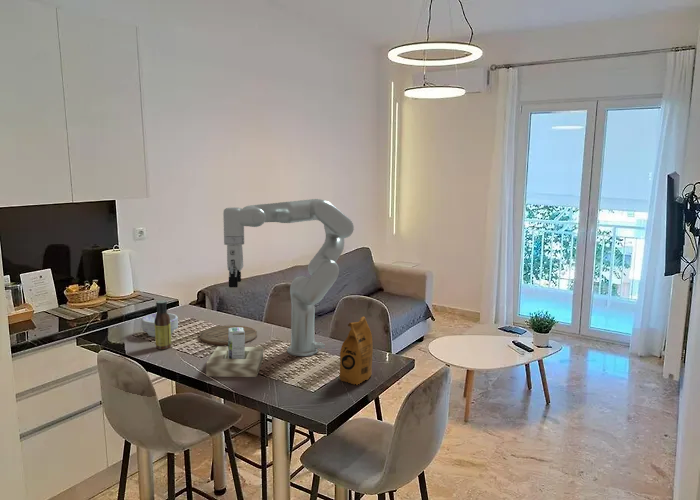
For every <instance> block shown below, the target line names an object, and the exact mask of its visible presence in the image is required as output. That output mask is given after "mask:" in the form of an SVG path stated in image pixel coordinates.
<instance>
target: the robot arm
mask: <svg viewBox="0 0 700 500" xmlns="http://www.w3.org/2000/svg"><path fill="white" fill-rule="evenodd" d="M222 215H223V218H222V219H223V245H225V246H226V261H227V262H226V263H227V266H226V267H227V271H228V288H238V286H239V284H238V283H240V282H242V273H241V271H242V270H243V268H244V256H243V255H244V253H243V245H245V227H251V228H257V227H261V226H262V225H264V224H265V223H280V224H293V223H294V224H295V223H303V222H310V221H319V222H320V223H322V224H323V229H324V232H325V233H324V234H325V239H324V242H323V244H322V245H321V247H320V248H319V250H318V251H317V252H316V254H315V255H314V256H313V258H312V259H311V261H310V262H309V263H308V266H307V272H308V274H309V275H310V277H307V276H303V275H301V276H297V277H295V278H294V279H292V282H291V283H290V286H289V294H290V295H289V296H290V301H291V302H290V303H291V315H290V316H291V317H290V318H291V323H290V328H291V329H290V334H291V335H290V339H291V341H290V345H289V346H288V347H287V353H288V354H289V355H291V356H296V357H310V356H313V355H315V354H317V353H318V352H319V351H318V349H326V347H325V346H326V344H325V343H323V342H317V341H316V339H315V314H316V313H315V309H316V307H315V305H316V304H318V303H320V302H321V301H322V300H323V298H324V297H325V296H326V294H327V293H328V292H329V291H330V289H331V288H332V287H333V285H334V283H335V282H337V279H338V277H339V274H340V267H339V265H338V263H337V261H338V259H339V258H340V257H341V255H342V253H343V251H344V247H345V239H346V238H349V237H350V236H351V235H352V234H353V233H354V230H355V226H354V223H353V220H352V219H351V218H350V217H349V216H347V215H346V214H344V213H343V212H342V211H341V210H340V209H339V208H337V207H336V206H335V205H333V204H332V203H331V202H330V201H328V200H326V199H321V198H319V199H318V198H310V199H303V200H293V201H292V200H291V201H283V202H272V203H262V204H261V203H260V204H253V205H246V206H244V207H243V208H241V207H226V208H224V209H223V213H222Z"/></svg>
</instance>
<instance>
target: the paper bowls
mask: <svg viewBox="0 0 700 500" xmlns="http://www.w3.org/2000/svg"><path fill="white" fill-rule="evenodd" d="M167 313H168V312H167ZM156 314H157V313H152V314H148V315H146V316H143V317H142V319H141V321H142V322H141V330H142V331H143V332H145V333H147V335H148V336H149V337H153V338H155V323H154V321H155V318H156ZM168 314H169V317H170V324H171V335H172V334H173V333H174V331H175V330H176V329H178V328H179V317H178V315H177V314H174V313H168Z"/></svg>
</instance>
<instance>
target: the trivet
mask: <svg viewBox="0 0 700 500" xmlns="http://www.w3.org/2000/svg"><path fill="white" fill-rule="evenodd" d="M234 327H242V328H244V331H245V344H248V343H251V342H252V341H254V340H256V339H257V336H258V334H257V330H256V329H254V328H252V327H250V326H245V325H219V326H213V327H210V328H207V329H205V330H202V332H200V334H199V340H200V341H201V342H202V343H204V344H206V343H207V345H211V346H217V347H228V329H229V328H234Z"/></svg>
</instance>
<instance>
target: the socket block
mask: <svg viewBox="0 0 700 500" xmlns="http://www.w3.org/2000/svg"><path fill="white" fill-rule="evenodd" d="M263 360H264V347H262V346H261V347H259V346H258V347H257V346H245V359H228V346H217V347H216V348H215V349H214V351H213V352H212V354H210V357H209V358H208V359H207V361H206V365H205V366H206V367H205V370H206V371H205V373H206V374H205V375H206V377H225V378H226V377H235V378H237V377H240V378H241V377H242V378H244V377H245V378H257V377H258V374H259V372H260V369H261V367H262V363H263Z"/></svg>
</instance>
